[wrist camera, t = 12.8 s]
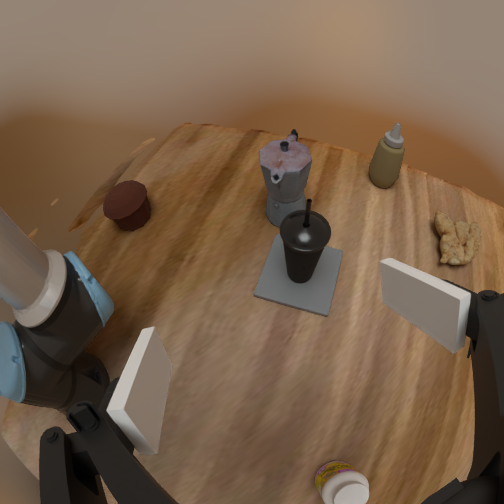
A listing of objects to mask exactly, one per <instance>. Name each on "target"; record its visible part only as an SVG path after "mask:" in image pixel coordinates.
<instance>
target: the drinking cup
mask: <svg viewBox="0 0 504 504" xmlns="http://www.w3.org/2000/svg"><path fill="white" fill-rule="evenodd" d="M311 203H312V200H311V199H307V202H306V210H298V211H294V212H292V213H290V214H288V215H287V216H286V217H285V218H284V219H283V221H282V222H281V225H280V236H281V238H282V240H283V246H284V253H285V260H286V267H287V274H288V277H289V278H290V280H292V281H293V282H295V283H305V282H307V281H309V280H310V279H311V277H312V275H313V272H314V270H315V268H316V266H317V263H318V261H319V259H320V257H321V254H322V252H323V250H324V247H325V246H326V245H327V243H328V242H329V240H330V237H331V228H330V225H329V223H328V222H327V220H326V219H325V218H324V217H323V216H322V215H320V214H318V213H316V212H314V211H311Z"/></svg>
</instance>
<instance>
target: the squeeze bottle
mask: <svg viewBox="0 0 504 504" xmlns="http://www.w3.org/2000/svg"><path fill="white" fill-rule="evenodd" d="M400 127H401V125H400V124H399V123H396V124H395V126H394V127H393V129H392V131H389V132H386V133H385V137H384V138H382V139H380V141H379V143H378V146H377V148H376V151H375V153H374V156H373V158H372V160H371V163H370V166H369V170H370V178H371V181H372V182H373V184H375V185H376V186H378V187H380V188H388V187H390V186H391V185H392V184H393V183H394V182H395V181H396V180H397V179H398V177H399V173H400V168H401V164H402V160H403V155H404V150H405V149H404V147H403V141H404V139H403V137H402V136H401V135H400V130H401V128H400Z"/></svg>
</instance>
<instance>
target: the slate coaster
mask: <svg viewBox="0 0 504 504" xmlns="http://www.w3.org/2000/svg"><path fill="white" fill-rule="evenodd" d="M342 253H343V251H342V250H338V249H334V248H331V247H327V246H325V247H324V250H323V252H322V254H321V257H320V259H319V261H318V263H317V266H316V268H315V270H314V272H313V275H312V277H311V279H310V280H309V281H307V282H305V283H295V282H293V281H292V280H290V278H289V277H288V274H287V267H286V260H285V253H284V246H283V240H282V238H281V236H280V234H276V236H275V239H274V242H273V244H272V247H271V250H270V252H269V255H268V258H267V260H266V263H265V266H264V268H263V271H262V274H261V276H260V279H259V281H258V284H257V287H256V289H255V292H254V297H258V298H261V299H265V300H268V301H271V302H275V303H278V304H282V305H285V306H289V307H292V308H296V309H299V310H303V311H307V312H310V313H314V314H318V315H321V316H325V317H327V316H328V313H329V309H330V305H331V301H332V297H333V293H334V289H335V285H336V280H337V276H338V272H339V267H340V262H341V258H342Z"/></svg>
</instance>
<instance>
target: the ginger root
mask: <svg viewBox="0 0 504 504" xmlns="http://www.w3.org/2000/svg"><path fill="white" fill-rule="evenodd" d="M434 222H435V227H436V229H437V232H438V234H439V235H440V237H441V240H440V250H441V254H442V257H441V259H440V262H441V263H448V264H451V265H459V264H460V265H463V264H467V263H469V262H470V261H471V259H472V258H474V256H475V255H477V253H478V247H479V246H480V243H479V240H481V236H480V233H481V228H480V225H479V224H478V223H476V222H475V223H474V222H473V223H472V224H471V225H469V224H468V223H467V222H462V221H461V220H459V221H458V222H456V223H455V224H454V223H453V222H452V221H451V219H450V218H449V217H448V216H447V215H446V214H444V213H442V212H440V211H436V213H435V217H434Z"/></svg>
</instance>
